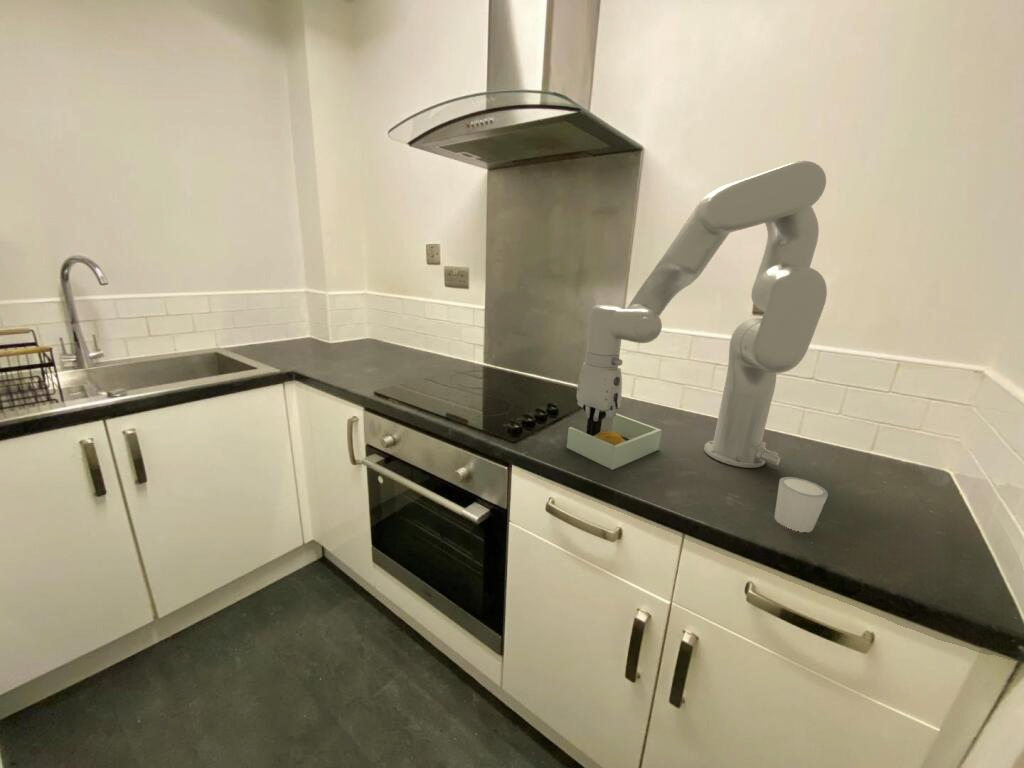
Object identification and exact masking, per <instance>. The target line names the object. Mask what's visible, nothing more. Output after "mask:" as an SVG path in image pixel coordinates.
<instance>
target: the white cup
mask: <svg viewBox="0 0 1024 768" xmlns="http://www.w3.org/2000/svg"><path fill="white" fill-rule="evenodd" d="M828 496H829V494H828V491H827V490H826V489H825V488H824V487H822V486H821V485H819V484H817V483H816V482H813V481H810V480H807V479H803V478H800V477H793V476H785V477H781V478H780V479H779V481H778V489H777V496H776V503H775V510H774V520H775V521H776V522H777V524H779V523H780V524H779V525H781V526H782V525H783V526H782V527H784V526H785V527H784V528H786V527H787V528H786V529H788V528H789V529H788V530H790V529H792V530H791V531H794V530H795V531H794V532H797V531H799V532H798V533H803V532H807V533H811V532H812V531H813V530H814V528H815V526H816V524H817V522H818V519H819V517H820V515H821V513H822V510H823V508H824V505H825V503H826V501H827V498H828Z"/></svg>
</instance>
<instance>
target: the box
mask: <svg viewBox="0 0 1024 768" xmlns="http://www.w3.org/2000/svg"><path fill="white" fill-rule="evenodd" d="M612 418H613V420H612V427H611V431H612V432H615V433H617V434H619V435H620V436H621V437H622V438H624V439H628V440H625V442H622V443H620V444H617V445H615V446H614V445H612V444H610V443H607V442H605V441H603V440H600V439H598V438H596V437H594V436H595V435H594V436H591V435H589V434H587V433H586V432H585V431H582V430H579V429H577V428H574V427H573V426H570V427H568V430H567V431H568V432H567V439H566V448H567V449H568V450H570V451H573V452H575V453H577V454H579V455H581V456H583V457H584V458H587V459H589V460H591V461H594V462H595V463H598V464H599V465H602V466H603V467H606V468H607V469H610V470H612V471H613V470H616V469H617V468H620V467H622V466H624V465H627V464H629V463H632V462H633V461H636V460H639V459H640V458H643V457H645V456H647V455H650V454H652V453H654V452H656V451H658V450H659V449H660V443H661V437H662V429H660V428H658V427H655V426H652V425H649V424H646V423H644V422H641V421H638V420H635V419H632V418H630V417H629V416H628V417H627V416H624V415H622V414H619V413H617V412H616V416H614V417H612Z"/></svg>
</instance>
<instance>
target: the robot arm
mask: <svg viewBox="0 0 1024 768" xmlns="http://www.w3.org/2000/svg"><path fill="white" fill-rule="evenodd" d="M826 184H827V177H826V172H825V171H824V169H823V168H822V167H821V166H820V165H819V164H817V163H816V162H813V161H809V160H798V161H794V162H791V163H788V164H784V165H782V166H779V167H777V168H774V169H771V170H768V171H765V172H762V173H759V174H756V175H754V176H750V177H746V178H745V179H742V180H738V181H735V182H732V183H729V184H725V185H723V186H720V187H718V188H717V189H715V190H713V191H712V192H709V193H708V194H706V195H705V196H704V197H703V198H702V199H701V200H700V201H699V203H698V204H697V205H696V206H695V208H694V209H693V211H692V212H691V213H690V216H689V217H688V218H687V220H686V222H685V223H684V224H683V226H682V227H681V229H680V231H679V232H678V234H677V235H676V237H675V238H674V239H673V241H672V242H671V244H670V245H669V247H668V249H667V250H666V251H665V252H664V254H663V256H662V257H661V258H660V260H659V261H658V263H657V264H656V265H655V267H654V269H653V270H652V271H651V273H650V274H649V276H648V277H647V278H646V280H645V281H644V282H643V283H642V285H641V287H639V289H638V291H636V294H635V295H634V297H633V298H632V300H631V301H630V302H629V304H628V306H627V307H626V308H622V307H620V306H618V305H610V304H596V305H594V306H593V307H592V308H591V309H590V312H589V320H588V321H589V322H588V331H587V341H586V348H585V360H584V362H583V363H582V365H581V368H580V371H579V376H578V380H577V385H576V387H577V388H576V400H577V406H579V407H581V408H582V409H583V411H584V412H585V418H586V419H587V420H586V421H587V422H586V432H585V433H587V434H589V435H591V436H595V435H596V434H598V433H599V432H602V421H603V420H604V419H605V418H613V417H614V416H616V413H617V410H618V409H619V408H621V402H622V390H623V387H622V386H623V381H622V380H623V376H622V369H621V367H619V366H622V365H623V360H622V359H620V352H621V346H622V344H621V343H622V340H624V341H628V342H631V343H636V344H648V343H651V342H653V341H655V340H656V339H657V338H658V337H659V336H660V334H661V333H662V329H663V324H662V320H661V318H660V316H661V314H662V313H663V312H664V310H665V309H666V308H667V306H668V305H669V304H670V303H671V301H672V300H673V299H674V298H675V296H677V295H678V294H679V293H680V292H681V291H683V290H684V289H685V288H687V287H688V286H690V285H691V284H692V283H694V282H696V280H697V279H698V278H699V277H700V275H701V274H702V273H703V271H704V270H705V268H706V267H707V266H708V265H709V263H710V262H711V260H712V258H713V257H714V256H715V254H716V253H717V252H718V250H719V249H720V247H721V246H722V245H723V243H724V242H725V241H726V239H727V238H728V236H729V234H731V233H734V232H737V231H741V230H744V229H745V230H746V229H749V228H751V227H756V226H760V225H762V224H765V227H766V230H767V238H766V239H767V240H766V245H765V249H764V253H763V256H762V259H761V262H760V265H759V267H758V271H757V274H756V277H755V280H754V283H753V285H752V288H751V295H750V296H751V301H752V303H753V305H754V306H755V307H756V309H759V310H760V311H762V312H763V315H762V317H761V318H760V317H759V318H758V317H757V318H751V319H747V320H745V321H743V322H742V323H740V324H739V325H738V326H737V327H736V328H735V330H734V331H733V333H732V335H731V337H730V341H729V349H728V365H727V371H726V378H725V382H724V388H723V392H722V397H721V402H720V408H719V411H718V416H717V421H716V427H715V432H714V436H713V440H709V441H707V442H706V443H705V444H704V448H703V449H704V451H705V453H706V454H707V455H708V456H709V457H710V458H712V459H714V460H716V461H718V462H721V463H724V464H727V465H730V466H734V467H738V468H746V469H748V468H749V469H753V468H761V467H763V466H764V465H765V464H766V462H767V463H769V464H772V465H775V466H778V465H779V464H780V461H781V456H779V453H778V452H776V451H773V450H768V449H767V448H766V445H767V442H765V441H763V437H764V434H765V429H766V426H767V421H768V417H769V413H770V408H771V404H772V401H773V400H772V399H773V396H774V393H775V388H776V383H777V374H782V373H786V372H789V371H792V370H793V369H794V368H795V367H797V366H798V365H799V364H800V363H801V362H802V360H803V359H804V357H805V356H806V355H807V352H808V350H809V347H810V345H811V342H812V340H813V336H814V334H815V332H816V328H817V327H818V324H819V321H820V318H821V316H822V313H823V310H824V308H825V304H826V301H827V295H828V294H827V293H828V292H827V291H828V290H827V289H828V286H827V283H826V280H825V278H824V277H823V275H822V274H821V273H820V272H819V271H818V270H816V269H815V268H812V267H811V264H812V261H813V258H814V254H815V251H816V247H817V243H818V240H819V235H820V234H819V233H820V232H819V231H820V230H819V229H820V227H819V221H818V218H817V215H816V213H815V211H814V208H813V206H814V205H815V204H816V203H817V202H818V201H819V200H820V199H821V197H822V196H823V193H824V191H825V189H826Z"/></svg>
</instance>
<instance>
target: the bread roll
mask: <svg viewBox="0 0 1024 768" xmlns="http://www.w3.org/2000/svg"><path fill="white" fill-rule="evenodd" d="M594 437H596V438H598V439H600V440H603V441H605V442H607V443H610V444H612V445H614V446H615V445H617V444H620V443H622V442H625V441H626V439H625V438H624V437H622V436H620V435H619V434H617V433H615V432H612V430H611V431H610V430H605V431H604V430H602V431H600V432H599V433H598V434H596V435H594Z"/></svg>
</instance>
